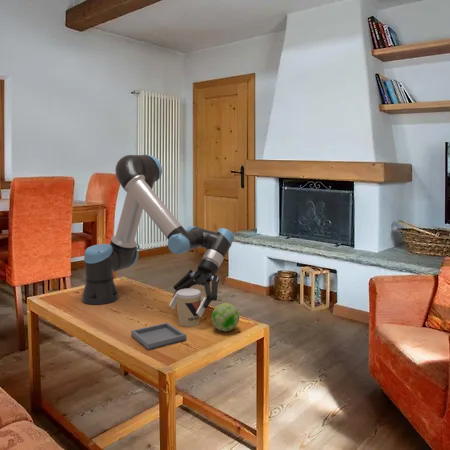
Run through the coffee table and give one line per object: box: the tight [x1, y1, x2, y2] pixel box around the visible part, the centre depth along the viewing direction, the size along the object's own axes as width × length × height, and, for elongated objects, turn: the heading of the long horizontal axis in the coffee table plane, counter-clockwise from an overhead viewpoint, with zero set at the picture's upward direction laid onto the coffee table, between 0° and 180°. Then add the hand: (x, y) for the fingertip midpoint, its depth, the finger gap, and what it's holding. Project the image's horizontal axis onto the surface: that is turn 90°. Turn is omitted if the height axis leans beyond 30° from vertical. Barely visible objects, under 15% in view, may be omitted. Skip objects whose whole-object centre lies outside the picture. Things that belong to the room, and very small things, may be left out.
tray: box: [130, 322, 187, 351], centre depth 157 cm, size 14×14×2 cm
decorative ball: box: [211, 302, 240, 332], centre depth 164 cm, size 10×10×10 cm
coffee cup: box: [176, 287, 202, 327], centre depth 171 cm, size 9×9×12 cm
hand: (184, 311), depth 169 cm, fingers open, 13 cm apart
